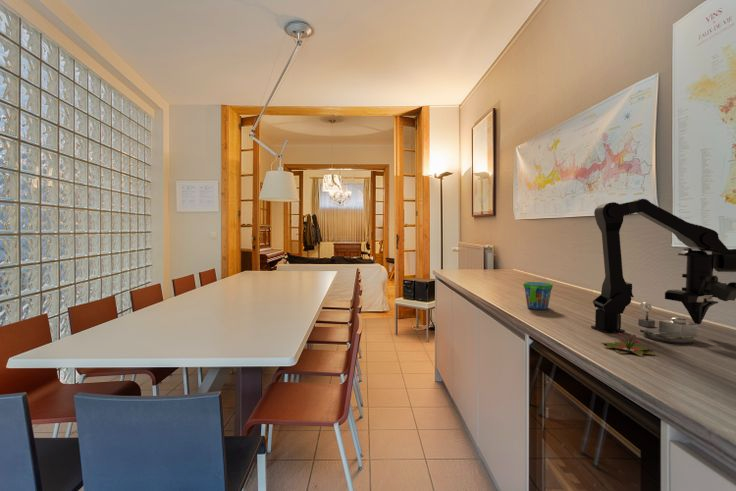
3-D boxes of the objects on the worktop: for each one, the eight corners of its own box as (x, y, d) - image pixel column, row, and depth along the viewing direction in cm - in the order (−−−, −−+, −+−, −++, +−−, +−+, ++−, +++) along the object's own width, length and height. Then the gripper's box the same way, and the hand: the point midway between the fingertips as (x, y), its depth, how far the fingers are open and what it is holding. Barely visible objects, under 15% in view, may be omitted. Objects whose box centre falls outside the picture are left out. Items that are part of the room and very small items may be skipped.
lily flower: (670, 361, 83) (670, 342, 83) (615, 357, 85) (615, 339, 85) (640, 345, 95) (640, 328, 95) (592, 342, 97) (592, 326, 97)
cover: (681, 335, 97) (682, 321, 97) (659, 329, 103) (659, 316, 102) (697, 333, 98) (698, 320, 98) (674, 328, 104) (674, 315, 104)
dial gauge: (647, 327, 111) (648, 303, 111) (638, 324, 114) (638, 301, 114) (655, 326, 112) (655, 302, 112) (645, 324, 115) (645, 301, 115)
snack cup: (531, 303, 149) (531, 280, 148) (558, 307, 141) (558, 282, 141) (516, 309, 138) (516, 283, 138) (544, 313, 130) (544, 286, 130)
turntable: (673, 345, 93) (673, 339, 93) (633, 334, 104) (633, 328, 104) (703, 342, 96) (704, 336, 96) (661, 331, 106) (661, 325, 106)
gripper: (708, 275, 92) (706, 333, 92) (758, 273, 96) (755, 329, 97) (663, 271, 103) (662, 323, 103) (710, 269, 107) (708, 319, 108)
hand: (697, 323), depth 102 cm, fingers closed
